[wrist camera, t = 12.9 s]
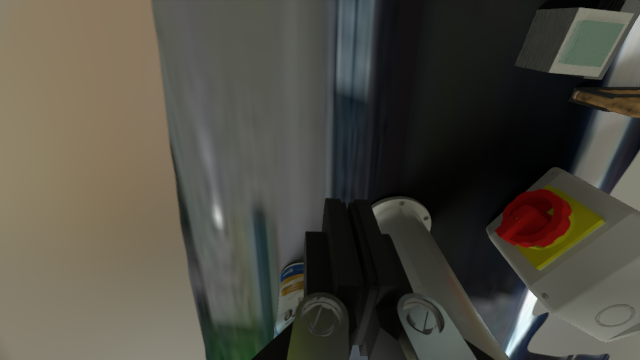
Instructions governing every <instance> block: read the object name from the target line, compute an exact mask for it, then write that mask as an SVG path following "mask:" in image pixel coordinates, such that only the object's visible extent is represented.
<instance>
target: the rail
mask: <svg viewBox="0 0 640 360" xmlns="http://www.w3.org/2000/svg"><path fill="white" fill-rule="evenodd" d="M639 14H640V0H600V2H599V4H598V6H597V7H596V9H589V8H561V9H543V10H537V12H536V15H535V17H534V19H533V22H532V24H531V27H530V29H529V32H528V34H527V36H526V39H525V41H524V44H523V46H522V48H521V51H520V53H519V56H518V58H517V61H516V63H515V65H514V66H519V67H524V68H529V69H534V70H538V71H543V72H548V73H559V74H565V75H570V76H575V77H580V78H586V79H598V80H602V78H603V76H604V75H605V73H606V71H607V70H608V68H609V66H610V64H611V63H612V61H613V59H614V57H615V56H616V54H617V52H618V51H619V49H620V47H621V45H622V44H623V42H624V40H625V38H626V37H627V35H628V33H629V32H630V30H631V28H632V26H633V25H634V23H635V21H636V19H637V18H638V16H639Z"/></svg>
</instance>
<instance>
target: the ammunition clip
mask: <svg viewBox="0 0 640 360" xmlns="http://www.w3.org/2000/svg"><path fill="white" fill-rule="evenodd" d="M569 102H573V103H577V104H580V105H584V106H587V107H591V108H594V109H598V110H601V111H605V112H616V113H620V114H623V115H627V116H630V117H637V118H640V87H575V88H574V90H573V92H572V94H571V97H570V99H569Z"/></svg>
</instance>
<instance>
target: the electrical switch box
mask: <svg viewBox="0 0 640 360" xmlns="http://www.w3.org/2000/svg"><path fill="white" fill-rule="evenodd" d="M486 231H487V233H488V235H489V238H490V239H491V241H492V242H493V243H494V245H495V246H496V247H497V248H498V250H499V251H500V252H501V254H502V255H503V256H504V257H505V259H506V260H507V261H508V263H509V264H510V265H511V266H512V268H513V269H514V270H515V272H516V273H517V274H518V276H519V277H520V278H521V279H522V281H523V282H524V283H525V285H526V286H527V287H528V288H529V290H530V291H531V292H532V293H533V294H534V295H535V296H536V297H537V298H538V299H539V300H540V301H541V302H542V304H543V305H544V306H545V307H546V308H547V309H548V310H549V311H550V312H551V313H552V314H554V315H556V316H558V317H559V318H561V319H563V320H564V321H566V322H568V323H570V324H572V325H574V326H575V327H577V328H579V329H581V330H583V331H584V332H586V333H588V334H590V335H592V336H593V337H595V338H597V339H599V340H600V341H602V342H607V343H608V342H612V341H615V340H618V339H622V338H625V337H628V336H632V335H635V334H639V333H640V212H639V211H638V210H636V209H634V208H632V207H630V206H628V205H627V204H625V203H623V202H621V201H619V200H617V199H616V198H614V197H612V196H610V195H608V194H607V193H605V192H603V191H601V190H599V189H598V188H596V187H594V186H592V185H590V184H588V183H587V182H585V181H583V180H581V179H579V178H578V177H576V176H574V175H572V174H570V173H568V172H566V171H564V170H562V169H560V168H557V167H553V168H551V169H550V170H549V171H548V172H547V173H545V174H544V175H543V176H542V177H541V178H540V179H539V180H538V181H537V182H536V183H534V184H533V185H532V186H531V187H530V188H529V189H528V190H527V191H526V192H524V193H522V194H520V195H518V196H517V197H516V198H515V200H514V201H513V202H511V203H510V204H508V205H507V206H506V208H505V209H504V211H503V212H502V213H501V214H500V215H499V216H498V217H497V218H496V219H495V220H494V221H492V222H491V223H490V224H489V225H488V226H487V227H486Z"/></svg>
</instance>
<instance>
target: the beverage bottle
mask: <svg viewBox="0 0 640 360" xmlns="http://www.w3.org/2000/svg"><path fill="white" fill-rule="evenodd" d="M303 298H304V263H295V264H292V265H290V266H288V267H286V268H285V269H284V270H283V271H282V273H281V276H280V292H279V303H278V314H277V321H276V323H275V329H274V333H275V337H276V336H277V335H278V334H280V333H281V332H282V331H283V330H284V329H285V328H286V327H287V326H288V325H289V324H290V323H291V322H293V321H294V318H295V313H296V309H297V307H298V304H299V303H300V302H301V300H302V299H303Z"/></svg>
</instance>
